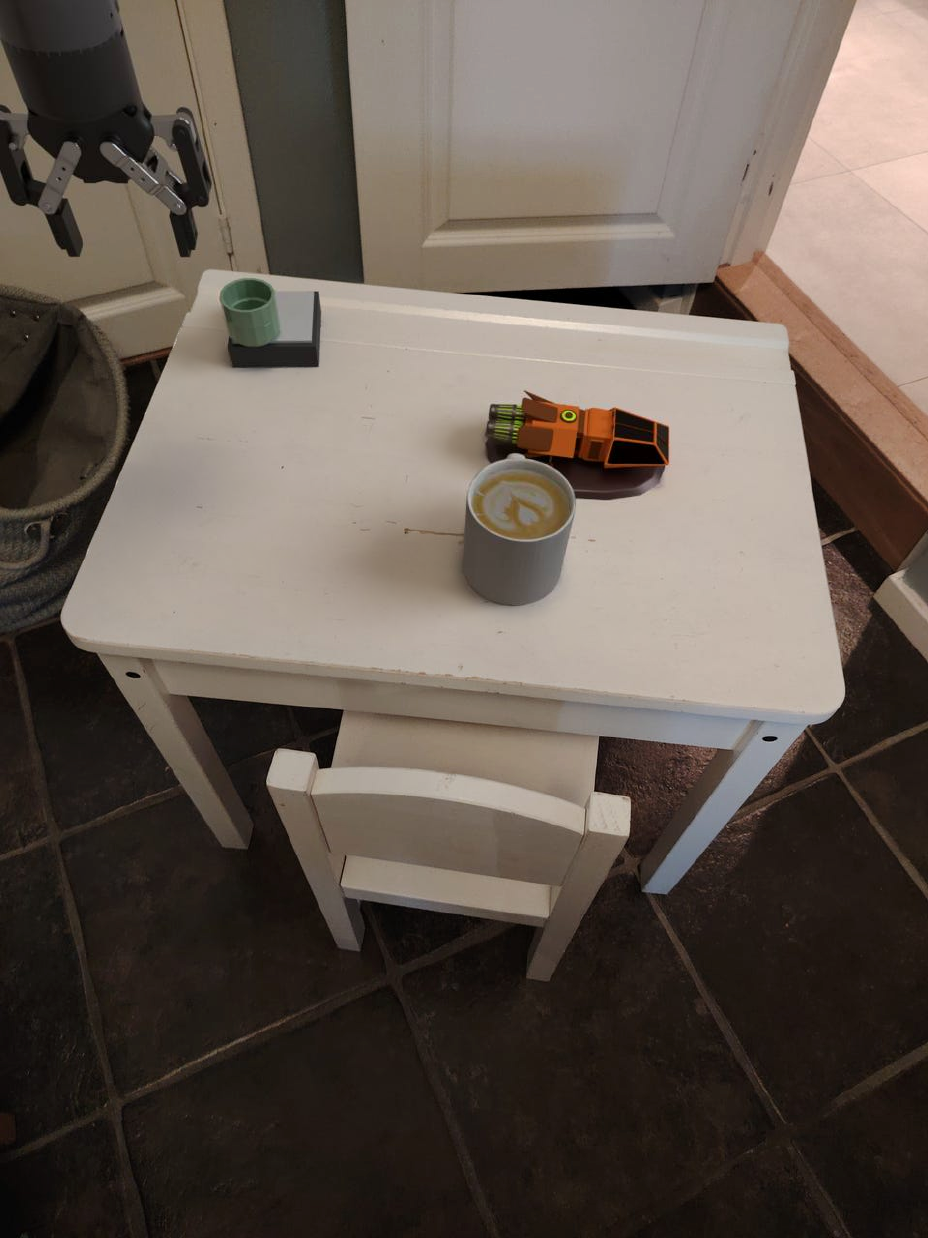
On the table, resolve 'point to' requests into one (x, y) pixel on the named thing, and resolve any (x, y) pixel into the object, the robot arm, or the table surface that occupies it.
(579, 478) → the toy spacecraft
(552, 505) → the coffee mug
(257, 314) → the green cup
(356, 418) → the table surface
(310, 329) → the scale
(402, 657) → the table surface
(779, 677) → the table surface
